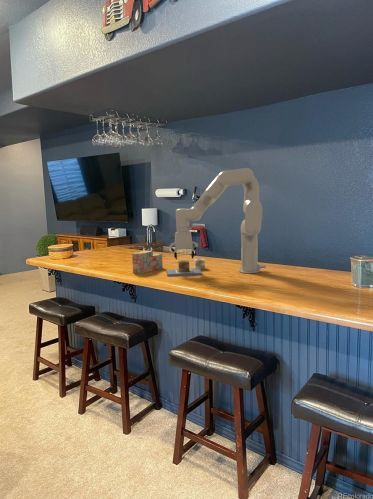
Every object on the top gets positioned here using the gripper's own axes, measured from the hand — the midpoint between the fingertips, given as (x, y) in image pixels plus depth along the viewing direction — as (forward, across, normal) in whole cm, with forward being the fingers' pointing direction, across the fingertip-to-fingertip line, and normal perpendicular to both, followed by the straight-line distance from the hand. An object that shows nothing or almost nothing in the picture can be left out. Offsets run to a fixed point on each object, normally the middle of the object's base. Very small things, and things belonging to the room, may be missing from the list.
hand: (184, 258), depth 221 cm
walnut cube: (+7, +1, 0) cm, 8 cm away
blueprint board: (+9, +1, 0) cm, 9 cm away
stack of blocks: (+9, +22, -14) cm, 27 cm away
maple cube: (+9, -10, -12) cm, 18 cm away
